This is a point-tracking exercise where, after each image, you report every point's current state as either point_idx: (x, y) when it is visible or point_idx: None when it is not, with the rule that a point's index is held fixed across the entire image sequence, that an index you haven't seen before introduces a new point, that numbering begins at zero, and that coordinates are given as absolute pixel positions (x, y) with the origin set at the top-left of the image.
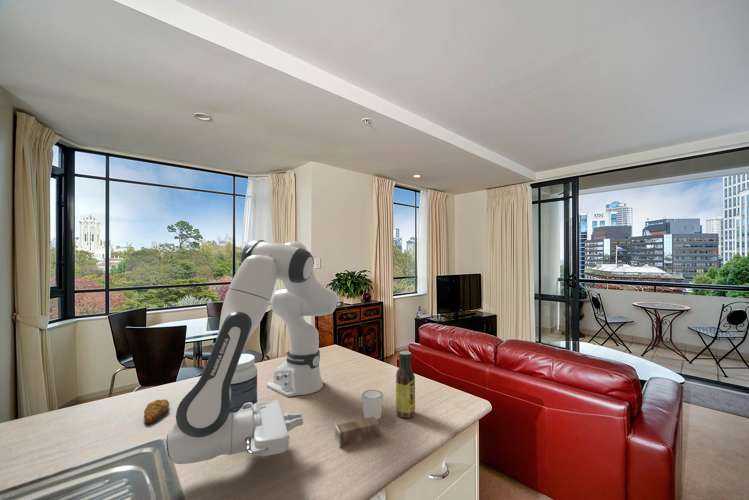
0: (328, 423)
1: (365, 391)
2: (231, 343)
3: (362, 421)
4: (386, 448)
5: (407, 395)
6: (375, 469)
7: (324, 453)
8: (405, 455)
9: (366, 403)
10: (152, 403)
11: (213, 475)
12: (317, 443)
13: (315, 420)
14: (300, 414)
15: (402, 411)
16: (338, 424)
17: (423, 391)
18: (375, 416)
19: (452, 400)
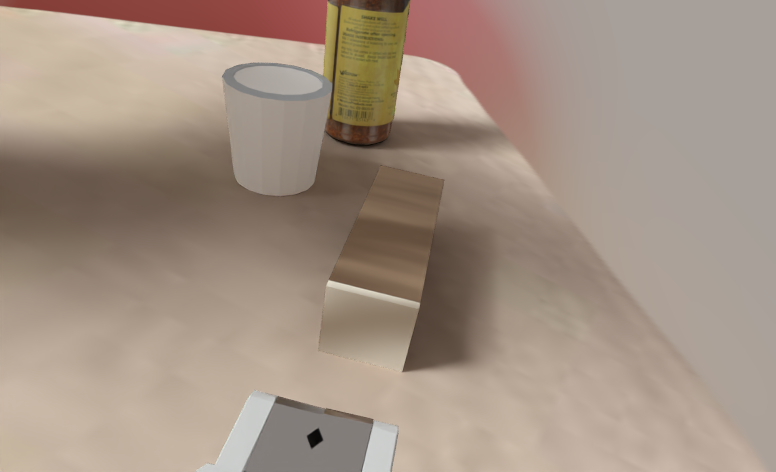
0: (144, 301)
1: (228, 76)
2: None
3: (387, 202)
4: (511, 254)
5: (399, 55)
6: (628, 343)
7: (408, 461)
8: (574, 242)
9: (288, 126)
10: None
11: None
12: None
13: (25, 334)
14: (283, 402)
15: (377, 121)
16: (332, 272)
17: (280, 62)
18: (314, 171)
19: None
